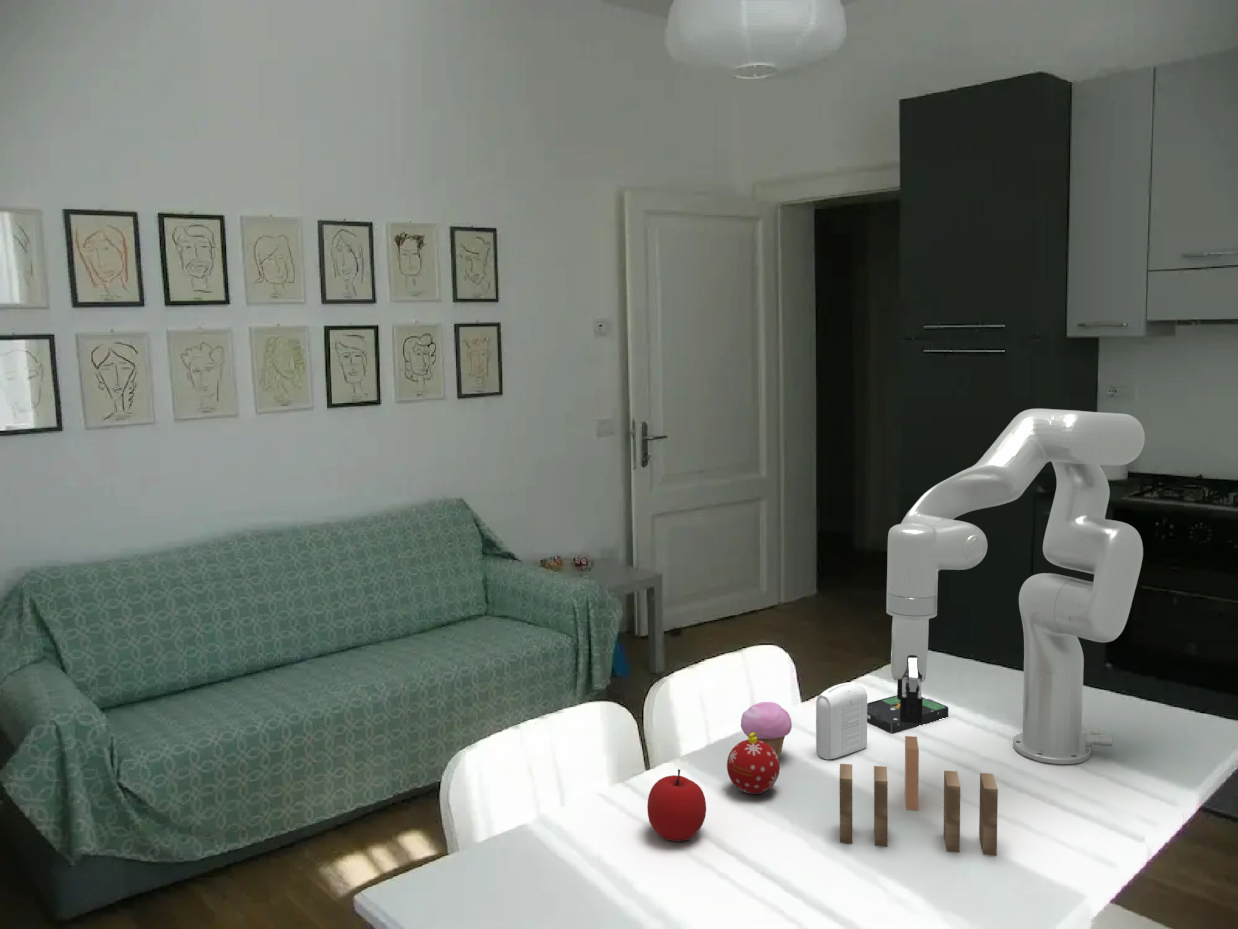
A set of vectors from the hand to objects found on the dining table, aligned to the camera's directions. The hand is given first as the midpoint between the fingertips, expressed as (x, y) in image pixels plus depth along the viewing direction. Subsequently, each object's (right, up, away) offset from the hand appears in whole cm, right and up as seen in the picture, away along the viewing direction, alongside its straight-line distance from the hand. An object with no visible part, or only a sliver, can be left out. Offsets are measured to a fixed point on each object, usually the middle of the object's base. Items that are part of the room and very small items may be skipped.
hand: (909, 710), depth 155 cm
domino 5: (+8, -17, -12) cm, 22 cm away
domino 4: (+3, -17, -10) cm, 20 cm away
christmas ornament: (-23, -16, +8) cm, 29 cm away
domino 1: (-11, -17, -7) cm, 22 cm away
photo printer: (-6, -13, +22) cm, 26 cm away
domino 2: (-7, -17, -8) cm, 20 cm away
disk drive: (+9, -11, +37) cm, 40 cm away
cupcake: (-19, -14, +20) cm, 31 cm away
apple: (-37, -18, -5) cm, 41 cm away
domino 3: (+1, -15, +2) cm, 15 cm away
